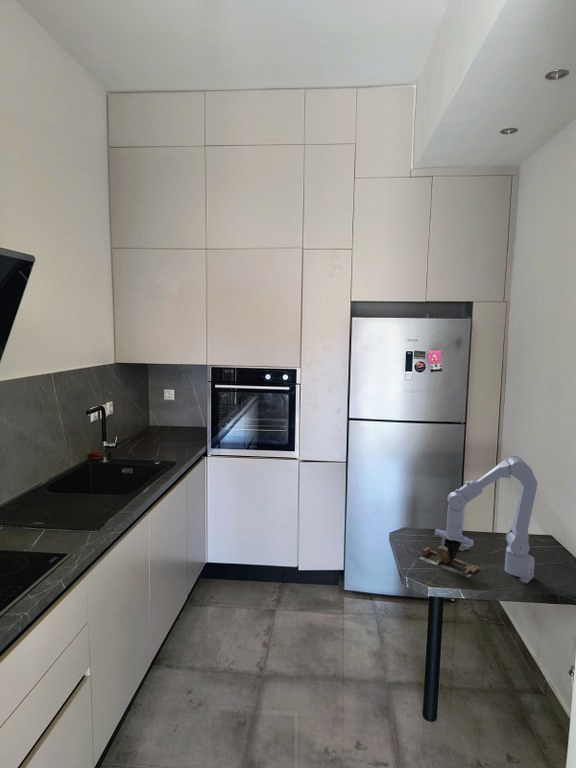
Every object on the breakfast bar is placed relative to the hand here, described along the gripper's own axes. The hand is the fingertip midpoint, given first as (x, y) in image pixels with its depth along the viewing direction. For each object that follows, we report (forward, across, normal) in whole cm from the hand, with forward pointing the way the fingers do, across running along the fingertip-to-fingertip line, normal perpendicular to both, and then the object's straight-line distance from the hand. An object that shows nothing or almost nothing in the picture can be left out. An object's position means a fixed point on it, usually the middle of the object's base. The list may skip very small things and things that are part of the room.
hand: (452, 558), depth 184 cm
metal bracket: (+4, -6, +18) cm, 19 cm away
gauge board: (+3, -1, -2) cm, 4 cm away
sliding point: (+2, -3, -2) cm, 4 cm away
